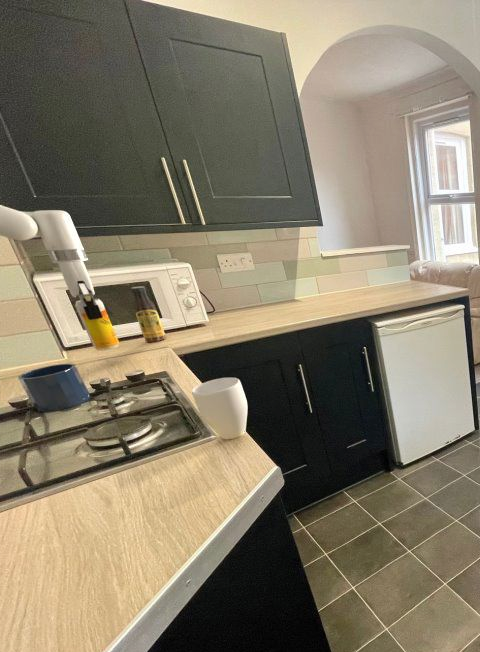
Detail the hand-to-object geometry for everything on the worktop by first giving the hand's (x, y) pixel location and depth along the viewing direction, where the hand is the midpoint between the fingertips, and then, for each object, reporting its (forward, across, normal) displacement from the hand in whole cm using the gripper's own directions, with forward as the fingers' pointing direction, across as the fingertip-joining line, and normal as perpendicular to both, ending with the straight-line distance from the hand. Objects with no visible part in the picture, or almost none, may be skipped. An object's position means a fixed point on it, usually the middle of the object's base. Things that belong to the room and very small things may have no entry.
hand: (94, 316), depth 128 cm
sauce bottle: (+15, -22, +15) cm, 31 cm away
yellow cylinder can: (+10, 0, 0) cm, 10 cm away
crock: (+16, +29, -13) cm, 36 cm away
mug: (+16, +82, +10) cm, 84 cm away
